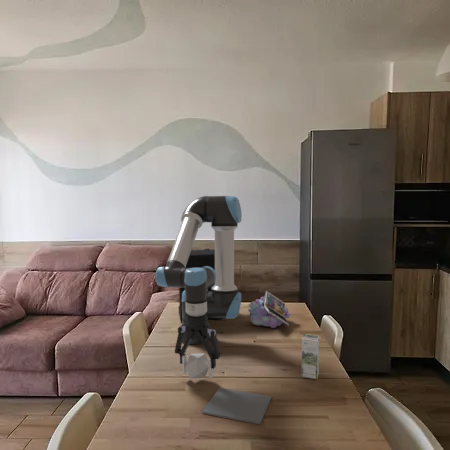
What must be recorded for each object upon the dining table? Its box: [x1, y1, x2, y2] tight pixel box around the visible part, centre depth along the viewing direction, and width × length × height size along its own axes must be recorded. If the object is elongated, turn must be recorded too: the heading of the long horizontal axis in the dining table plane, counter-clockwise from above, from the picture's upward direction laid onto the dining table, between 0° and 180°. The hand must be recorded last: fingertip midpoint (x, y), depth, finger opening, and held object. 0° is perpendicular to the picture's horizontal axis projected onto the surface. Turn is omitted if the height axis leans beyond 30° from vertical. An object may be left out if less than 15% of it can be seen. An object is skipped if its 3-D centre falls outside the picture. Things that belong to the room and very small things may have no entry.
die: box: [186, 352, 209, 379], centre depth 137 cm, size 8×9×10 cm
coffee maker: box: [178, 248, 225, 323], centre depth 208 cm, size 28×20×35 cm
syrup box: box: [301, 333, 320, 380], centre depth 140 cm, size 6×6×14 cm
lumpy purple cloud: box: [247, 290, 292, 329], centre depth 195 cm, size 20×22×18 cm
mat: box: [201, 387, 272, 425], centre depth 122 cm, size 18×15×1 cm
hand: (198, 374), depth 137 cm, fingers closed on die, 9 cm apart
